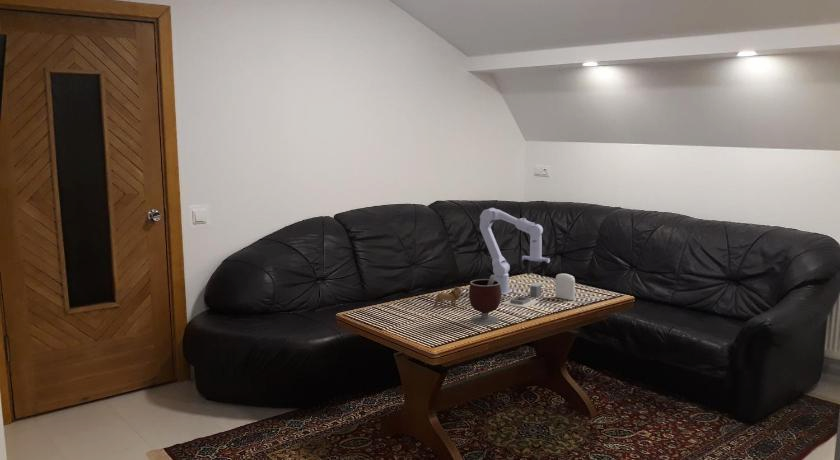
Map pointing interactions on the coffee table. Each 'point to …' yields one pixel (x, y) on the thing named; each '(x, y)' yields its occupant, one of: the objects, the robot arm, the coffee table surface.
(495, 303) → the mate gourd
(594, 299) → the coffee table surface
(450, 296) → the lion figurine
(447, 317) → the coffee table surface
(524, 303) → the plate
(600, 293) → the coffee table surface
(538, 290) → the block
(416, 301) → the coffee table surface
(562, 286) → the photo printer
